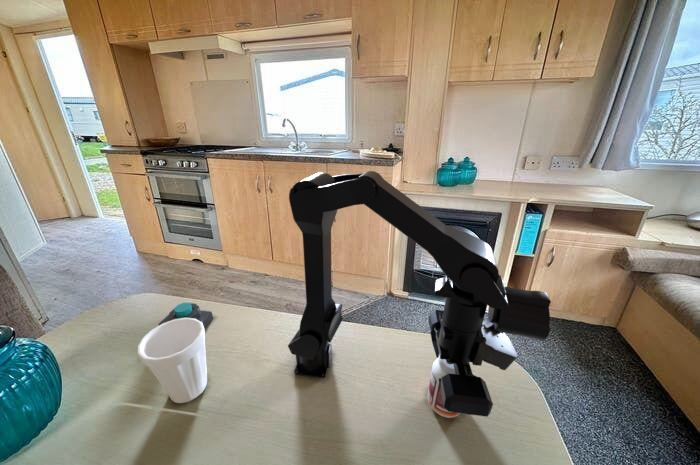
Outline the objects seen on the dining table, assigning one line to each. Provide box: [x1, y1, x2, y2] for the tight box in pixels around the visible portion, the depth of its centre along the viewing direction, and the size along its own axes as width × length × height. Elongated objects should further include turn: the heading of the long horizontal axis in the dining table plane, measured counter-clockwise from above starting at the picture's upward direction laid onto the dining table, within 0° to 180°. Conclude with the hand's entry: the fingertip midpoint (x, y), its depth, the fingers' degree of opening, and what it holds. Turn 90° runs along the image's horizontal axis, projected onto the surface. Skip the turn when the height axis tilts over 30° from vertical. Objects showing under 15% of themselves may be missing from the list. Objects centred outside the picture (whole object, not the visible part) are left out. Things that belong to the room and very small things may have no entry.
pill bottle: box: [427, 355, 461, 419], centre depth 48 cm, size 6×6×11 cm
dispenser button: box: [173, 302, 193, 318], centre depth 67 cm, size 4×4×2 cm
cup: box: [136, 318, 208, 404], centre depth 50 cm, size 10×10×13 cm
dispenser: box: [157, 302, 214, 329], centre depth 68 cm, size 10×6×4 cm, turn 82°
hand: (447, 388), depth 49 cm, fingers closed on pill bottle, 6 cm apart
